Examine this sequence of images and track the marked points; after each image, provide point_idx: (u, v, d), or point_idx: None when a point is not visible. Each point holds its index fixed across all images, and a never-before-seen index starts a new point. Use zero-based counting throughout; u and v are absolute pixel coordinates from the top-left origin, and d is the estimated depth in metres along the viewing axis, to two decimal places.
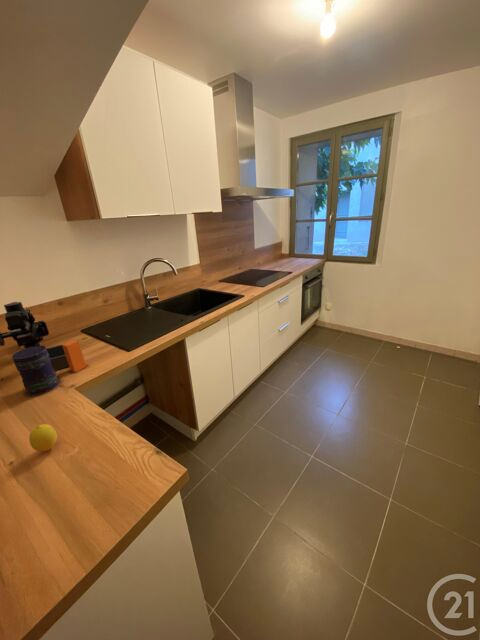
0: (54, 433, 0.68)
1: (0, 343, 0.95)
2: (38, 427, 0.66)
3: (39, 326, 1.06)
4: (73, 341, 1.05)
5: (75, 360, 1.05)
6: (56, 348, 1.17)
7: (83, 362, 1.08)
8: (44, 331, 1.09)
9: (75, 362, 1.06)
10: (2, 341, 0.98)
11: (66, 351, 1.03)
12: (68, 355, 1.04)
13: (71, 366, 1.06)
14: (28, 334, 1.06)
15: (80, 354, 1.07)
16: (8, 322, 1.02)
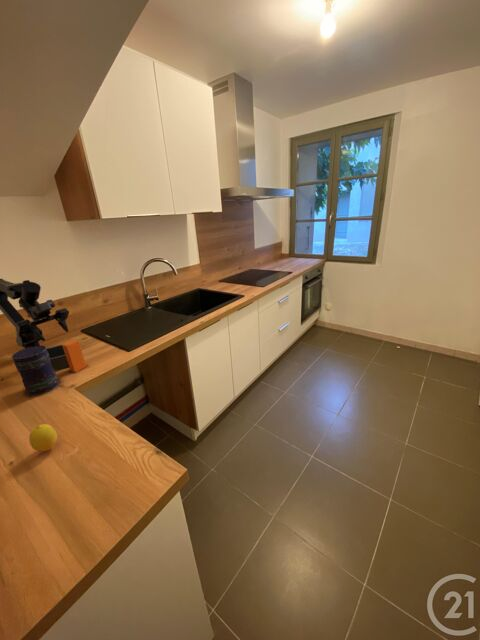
0: (54, 433, 0.68)
1: (44, 340, 1.03)
2: (38, 427, 0.66)
3: (65, 316, 1.12)
4: (73, 341, 1.05)
5: (75, 360, 1.05)
6: (56, 348, 1.17)
7: (83, 362, 1.08)
8: None
9: (75, 362, 1.06)
10: None
11: (66, 351, 1.03)
12: (68, 355, 1.04)
13: (71, 366, 1.06)
14: None
15: (80, 354, 1.07)
16: (38, 313, 1.03)
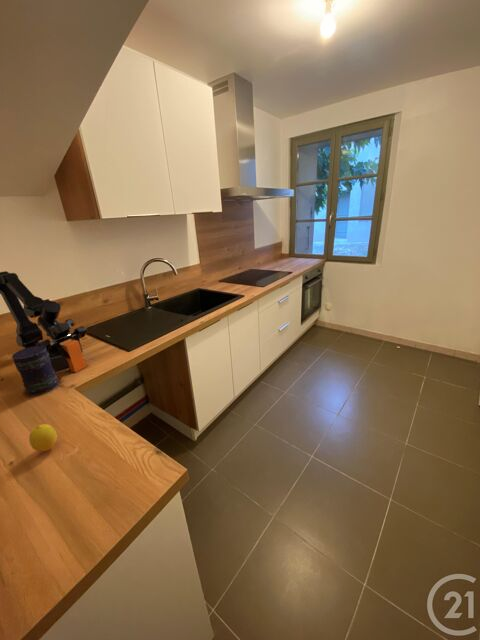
0: (54, 433, 0.68)
1: (69, 357, 1.03)
2: (38, 427, 0.66)
3: None
4: (73, 341, 1.05)
5: (75, 360, 1.05)
6: None
7: (83, 362, 1.08)
8: None
9: (75, 362, 1.06)
10: None
11: (66, 351, 1.03)
12: None
13: (71, 366, 1.06)
14: (68, 338, 1.09)
15: (80, 354, 1.07)
16: (58, 333, 1.02)
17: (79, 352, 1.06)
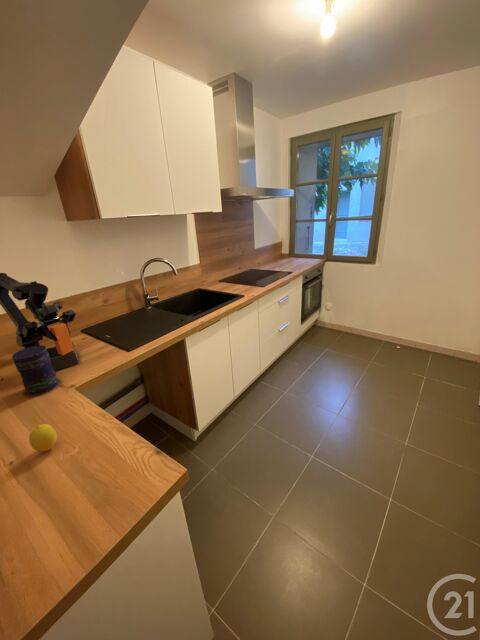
0: (54, 433, 0.68)
1: (57, 340, 1.03)
2: (38, 427, 0.66)
3: (67, 319, 1.09)
4: (61, 324, 1.05)
5: (62, 343, 1.05)
6: (56, 348, 1.17)
7: (71, 345, 1.08)
8: None
9: (63, 345, 1.06)
10: None
11: None
12: None
13: (58, 349, 1.06)
14: (56, 322, 1.09)
15: (68, 337, 1.07)
16: (45, 315, 1.02)
17: (67, 335, 1.06)
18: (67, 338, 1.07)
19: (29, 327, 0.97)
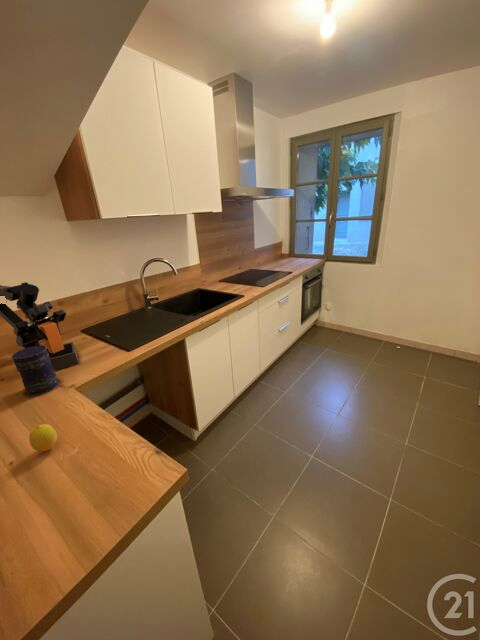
0: (54, 433, 0.68)
1: (47, 339, 1.07)
2: (38, 427, 0.66)
3: (57, 319, 1.13)
4: (51, 323, 1.09)
5: (52, 341, 1.09)
6: None
7: (61, 344, 1.12)
8: None
9: (53, 344, 1.09)
10: None
11: (44, 333, 1.07)
12: (46, 336, 1.07)
13: (49, 347, 1.10)
14: (47, 321, 1.13)
15: (58, 336, 1.11)
16: (36, 315, 1.05)
17: (57, 334, 1.10)
18: (57, 337, 1.10)
19: (20, 326, 1.01)
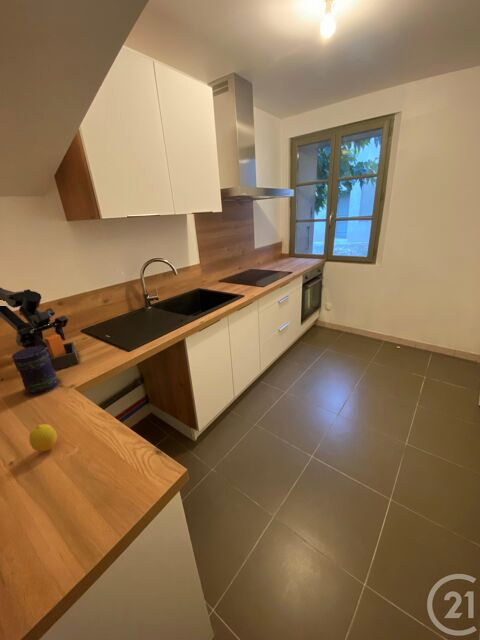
0: (54, 433, 0.68)
1: (46, 346, 1.07)
2: (38, 427, 0.66)
3: (62, 324, 1.15)
4: (55, 335, 1.11)
5: (56, 353, 1.11)
6: None
7: None
8: None
9: (57, 355, 1.11)
10: None
11: (48, 344, 1.09)
12: (50, 348, 1.09)
13: None
14: (49, 327, 1.14)
15: (62, 347, 1.13)
16: (38, 321, 1.06)
17: (61, 345, 1.12)
18: (61, 348, 1.12)
19: (22, 333, 1.02)
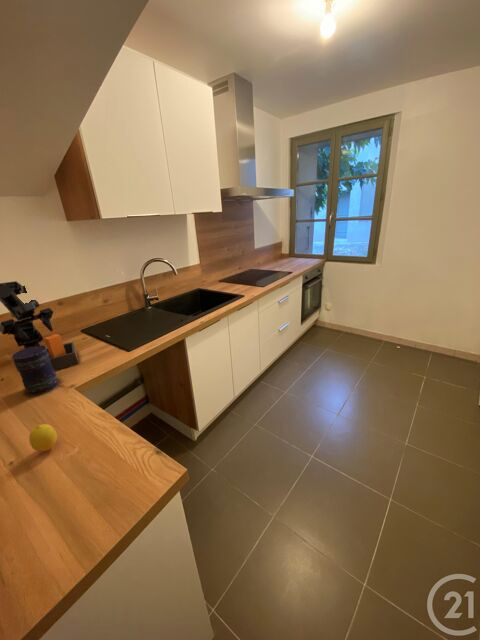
0: (54, 433, 0.68)
1: (28, 339, 1.05)
2: (38, 427, 0.66)
3: (49, 315, 1.15)
4: (55, 335, 1.11)
5: (56, 353, 1.11)
6: None
7: None
8: None
9: (57, 355, 1.11)
10: None
11: (48, 344, 1.09)
12: (50, 348, 1.09)
13: None
14: (34, 319, 1.13)
15: (62, 347, 1.13)
16: (22, 312, 1.05)
17: (61, 345, 1.12)
18: (61, 348, 1.12)
19: (6, 324, 1.01)
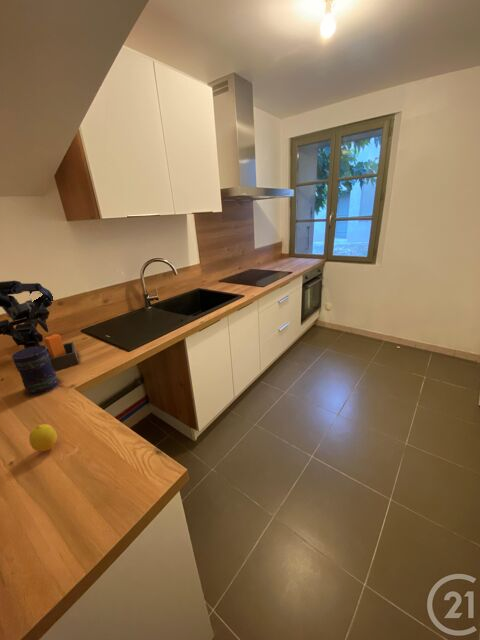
0: (54, 433, 0.68)
1: (23, 339, 1.05)
2: (38, 427, 0.66)
3: (45, 316, 1.14)
4: (55, 335, 1.11)
5: (56, 353, 1.11)
6: None
7: None
8: None
9: (57, 355, 1.11)
10: None
11: (48, 344, 1.09)
12: (50, 348, 1.09)
13: None
14: None
15: (62, 347, 1.13)
16: (17, 313, 1.05)
17: (61, 345, 1.12)
18: (61, 348, 1.12)
19: (0, 325, 1.01)
